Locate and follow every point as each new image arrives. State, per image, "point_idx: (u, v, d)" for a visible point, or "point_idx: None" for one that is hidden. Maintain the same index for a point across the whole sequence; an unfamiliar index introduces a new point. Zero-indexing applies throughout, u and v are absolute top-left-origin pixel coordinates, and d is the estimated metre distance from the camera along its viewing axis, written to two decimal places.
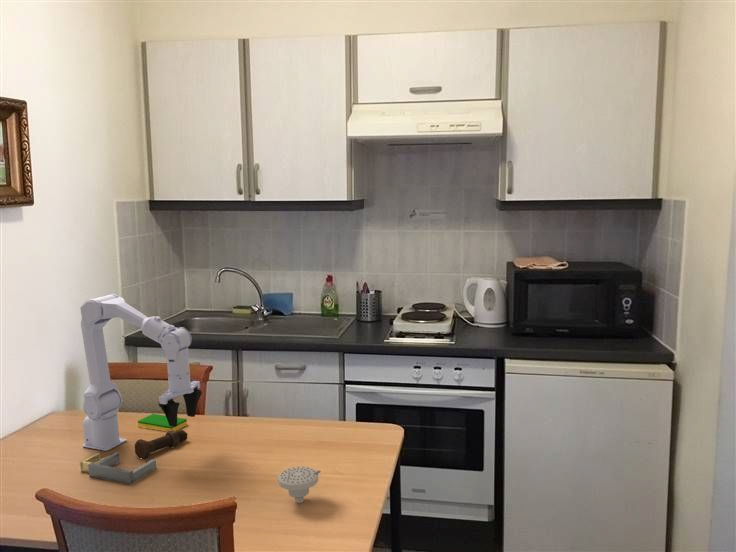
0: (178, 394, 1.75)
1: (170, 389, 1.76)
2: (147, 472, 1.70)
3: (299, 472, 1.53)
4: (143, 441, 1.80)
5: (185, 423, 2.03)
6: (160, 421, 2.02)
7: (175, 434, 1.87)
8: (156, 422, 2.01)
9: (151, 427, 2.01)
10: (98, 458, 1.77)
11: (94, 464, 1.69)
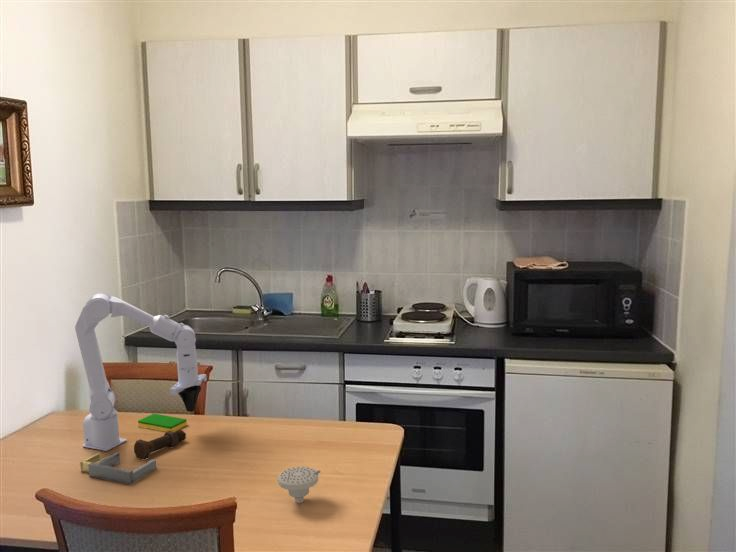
0: (187, 386, 1.91)
1: (179, 381, 1.93)
2: (147, 472, 1.70)
3: (299, 472, 1.53)
4: (143, 441, 1.79)
5: (185, 423, 2.03)
6: (160, 421, 2.02)
7: (174, 434, 1.87)
8: (156, 422, 2.01)
9: (151, 427, 2.01)
10: (98, 458, 1.77)
11: (94, 464, 1.69)
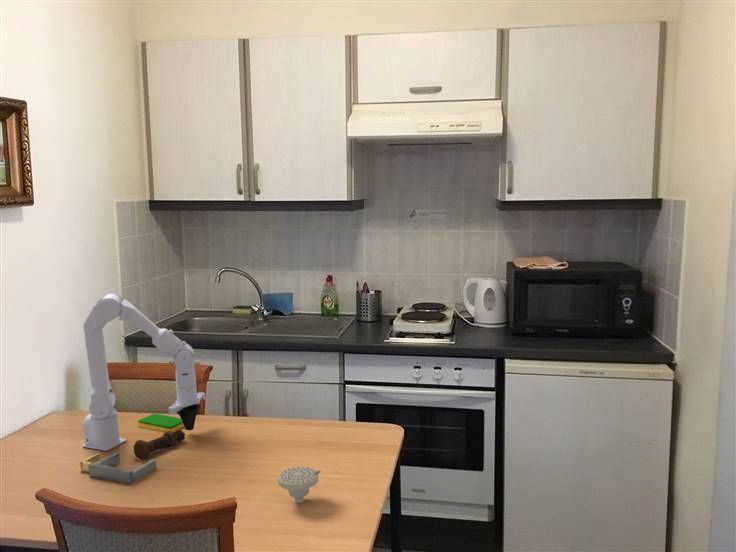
0: (186, 405, 1.91)
1: (178, 400, 1.92)
2: (147, 472, 1.70)
3: (299, 472, 1.53)
4: (143, 442, 1.79)
5: None
6: (160, 421, 2.02)
7: (173, 434, 1.87)
8: (156, 422, 2.01)
9: (151, 427, 2.01)
10: (98, 458, 1.77)
11: (94, 464, 1.69)
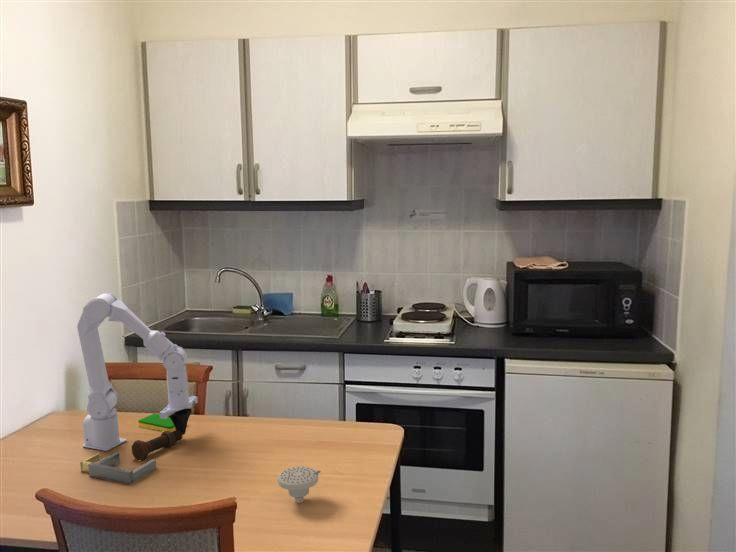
0: (177, 409, 1.87)
1: (170, 404, 1.89)
2: (147, 472, 1.70)
3: (299, 472, 1.53)
4: (141, 442, 1.78)
5: None
6: (160, 421, 2.02)
7: (171, 434, 1.86)
8: (156, 422, 2.01)
9: (151, 427, 2.01)
10: (98, 458, 1.77)
11: (94, 464, 1.69)
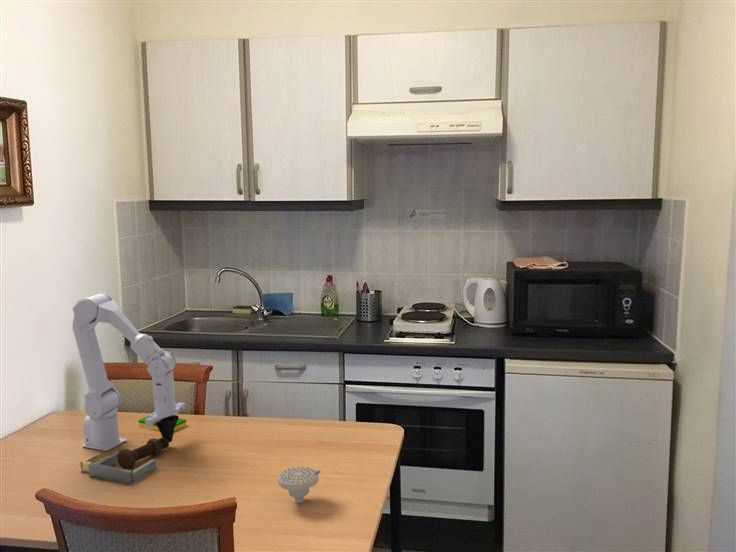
0: (163, 416, 1.82)
1: (156, 411, 1.84)
2: (147, 472, 1.70)
3: (299, 472, 1.53)
4: (127, 450, 1.73)
5: (184, 424, 2.03)
6: None
7: (158, 442, 1.81)
8: None
9: (151, 427, 2.01)
10: (98, 458, 1.77)
11: (94, 464, 1.69)
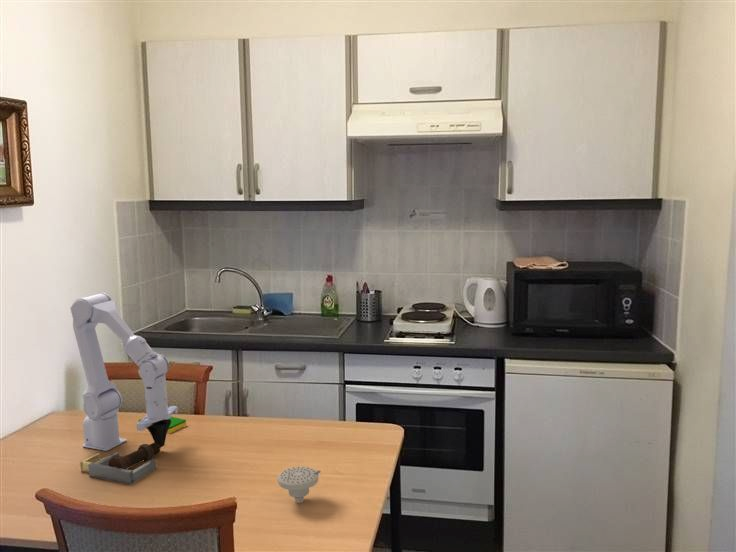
0: (155, 420, 1.79)
1: (148, 415, 1.81)
2: (147, 472, 1.70)
3: (299, 472, 1.53)
4: (119, 457, 1.70)
5: (184, 424, 2.02)
6: None
7: (149, 447, 1.78)
8: None
9: None
10: (98, 458, 1.77)
11: (94, 464, 1.69)
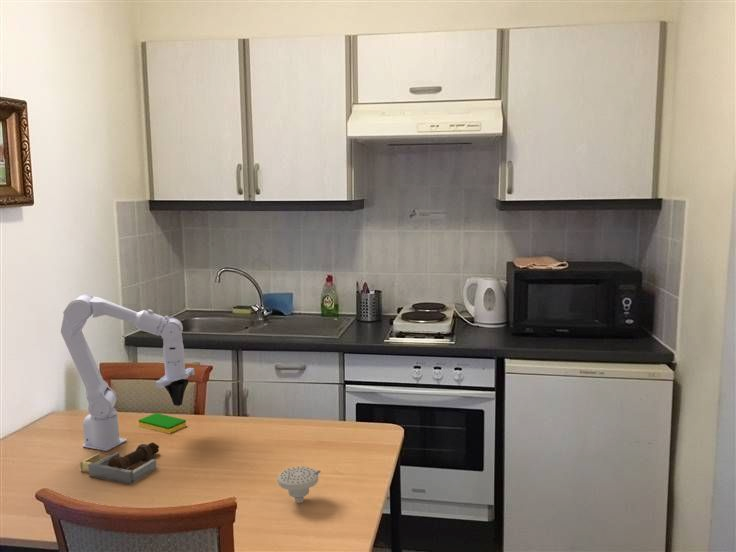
0: (173, 379, 1.88)
1: (166, 375, 1.90)
2: (147, 472, 1.70)
3: (299, 472, 1.53)
4: (119, 457, 1.69)
5: (184, 424, 2.02)
6: (159, 421, 2.02)
7: (148, 447, 1.78)
8: (155, 422, 2.02)
9: (150, 427, 2.01)
10: (98, 458, 1.77)
11: (94, 464, 1.69)
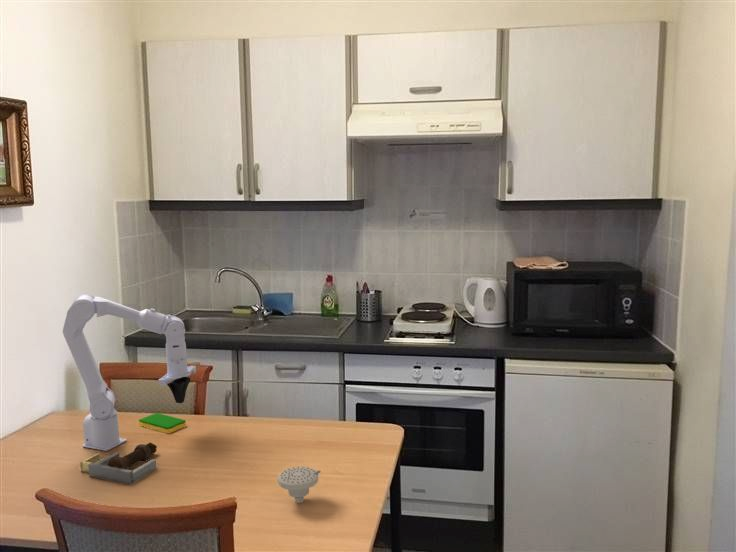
0: (176, 377, 1.90)
1: (169, 373, 1.92)
2: (147, 472, 1.70)
3: (299, 472, 1.53)
4: (119, 457, 1.69)
5: (184, 424, 2.02)
6: (159, 421, 2.02)
7: (147, 447, 1.78)
8: (155, 422, 2.02)
9: (150, 427, 2.01)
10: (98, 458, 1.77)
11: (94, 464, 1.69)
